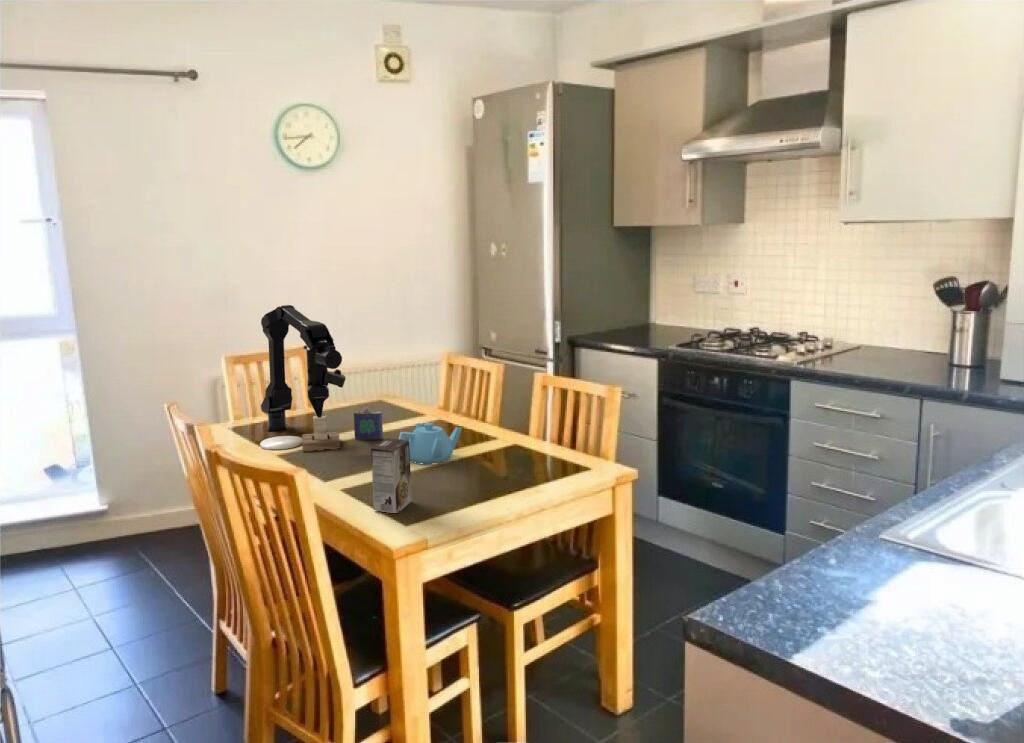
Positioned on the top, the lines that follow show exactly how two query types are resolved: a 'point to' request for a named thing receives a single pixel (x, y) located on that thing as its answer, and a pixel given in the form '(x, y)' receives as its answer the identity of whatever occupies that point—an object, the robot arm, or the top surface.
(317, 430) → the block
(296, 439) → the plate
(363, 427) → the flask
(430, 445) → the teapot
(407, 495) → the coffee box
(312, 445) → the holder
